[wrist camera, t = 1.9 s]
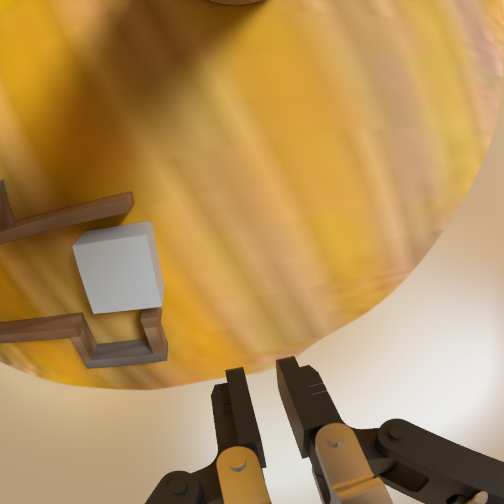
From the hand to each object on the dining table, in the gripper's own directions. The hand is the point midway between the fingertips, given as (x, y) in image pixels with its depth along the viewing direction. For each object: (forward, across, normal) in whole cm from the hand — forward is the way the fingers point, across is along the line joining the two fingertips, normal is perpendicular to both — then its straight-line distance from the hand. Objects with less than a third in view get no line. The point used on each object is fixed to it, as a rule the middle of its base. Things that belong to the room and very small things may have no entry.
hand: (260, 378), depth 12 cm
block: (+15, +8, 0) cm, 18 cm away
